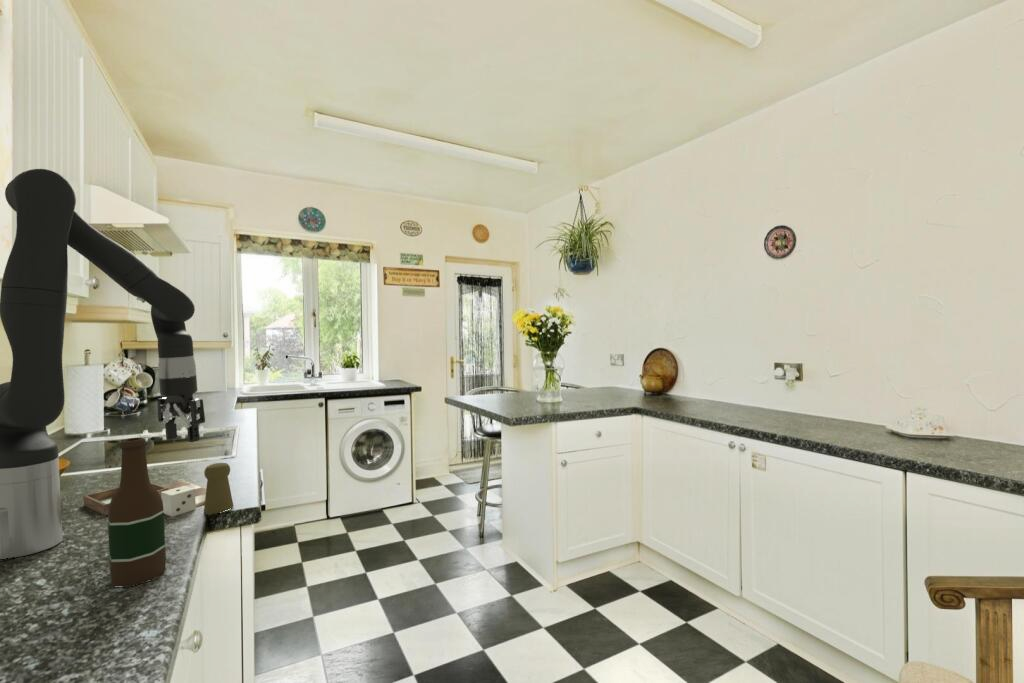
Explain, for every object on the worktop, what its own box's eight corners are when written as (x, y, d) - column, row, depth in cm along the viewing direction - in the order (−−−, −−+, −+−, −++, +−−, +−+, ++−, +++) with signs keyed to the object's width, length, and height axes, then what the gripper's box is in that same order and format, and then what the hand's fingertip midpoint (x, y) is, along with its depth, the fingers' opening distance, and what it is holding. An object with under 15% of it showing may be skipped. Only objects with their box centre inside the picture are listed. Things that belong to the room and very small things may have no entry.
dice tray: (104, 515, 108) (104, 505, 108) (83, 505, 115) (83, 495, 114) (168, 497, 119) (168, 488, 119) (146, 489, 126) (146, 480, 126)
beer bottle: (101, 593, 75) (94, 447, 74) (119, 571, 82) (113, 437, 81) (159, 582, 78) (153, 441, 77) (172, 561, 85) (167, 432, 84)
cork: (209, 516, 106) (207, 469, 105) (199, 511, 109) (197, 465, 109) (238, 508, 111) (236, 462, 110) (227, 503, 114) (225, 459, 114)
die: (172, 517, 106) (171, 495, 106) (161, 512, 109) (160, 491, 109) (196, 509, 111) (195, 488, 111) (186, 505, 113) (185, 485, 113)
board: (197, 506, 112) (197, 503, 112) (152, 490, 125) (152, 487, 125) (227, 497, 118) (227, 494, 118) (181, 482, 131) (181, 480, 131)
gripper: (143, 376, 113) (148, 442, 114) (180, 377, 108) (185, 446, 109) (175, 373, 120) (180, 434, 121) (212, 373, 115) (216, 438, 115)
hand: (182, 440), depth 115 cm, fingers open, 8 cm apart
